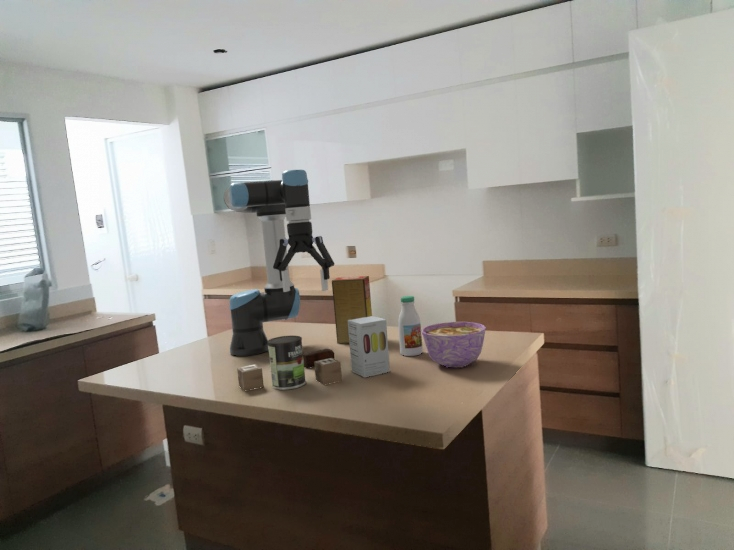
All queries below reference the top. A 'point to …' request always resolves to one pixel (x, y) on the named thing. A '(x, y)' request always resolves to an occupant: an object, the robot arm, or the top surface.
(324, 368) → the number block right
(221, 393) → the top surface
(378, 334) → the supplement box
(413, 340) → the milk bottle
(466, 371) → the top surface
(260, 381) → the number block left
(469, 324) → the bowl of food
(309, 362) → the brick
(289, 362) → the coffee can
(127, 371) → the top surface
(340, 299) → the food packaging
